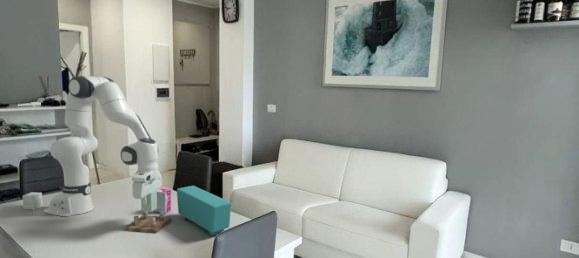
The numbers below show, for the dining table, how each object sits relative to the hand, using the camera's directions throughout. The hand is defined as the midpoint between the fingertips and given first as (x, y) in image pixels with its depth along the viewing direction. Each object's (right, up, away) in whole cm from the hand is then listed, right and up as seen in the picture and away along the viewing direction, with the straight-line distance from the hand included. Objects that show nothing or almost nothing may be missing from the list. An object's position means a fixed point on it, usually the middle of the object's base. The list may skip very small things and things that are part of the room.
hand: (148, 202), depth 164 cm
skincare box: (-69, -7, +20) cm, 72 cm away
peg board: (0, -11, +1) cm, 11 cm away
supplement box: (0, -9, +19) cm, 21 cm away
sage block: (0, -4, 0) cm, 4 cm away
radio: (+25, -12, +4) cm, 28 cm away
